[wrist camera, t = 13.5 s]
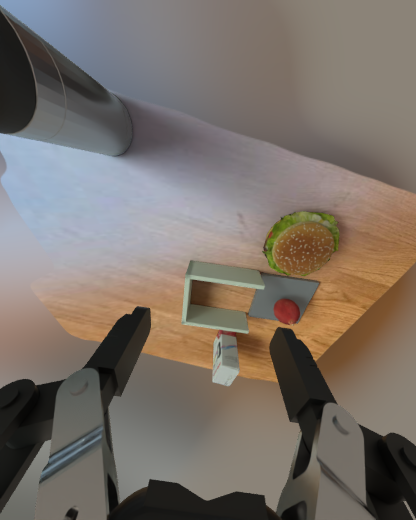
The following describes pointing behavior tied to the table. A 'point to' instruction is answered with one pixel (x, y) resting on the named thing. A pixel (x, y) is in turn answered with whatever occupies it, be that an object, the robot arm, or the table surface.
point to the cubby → (211, 315)
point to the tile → (281, 294)
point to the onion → (287, 311)
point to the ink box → (225, 358)
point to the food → (301, 243)
